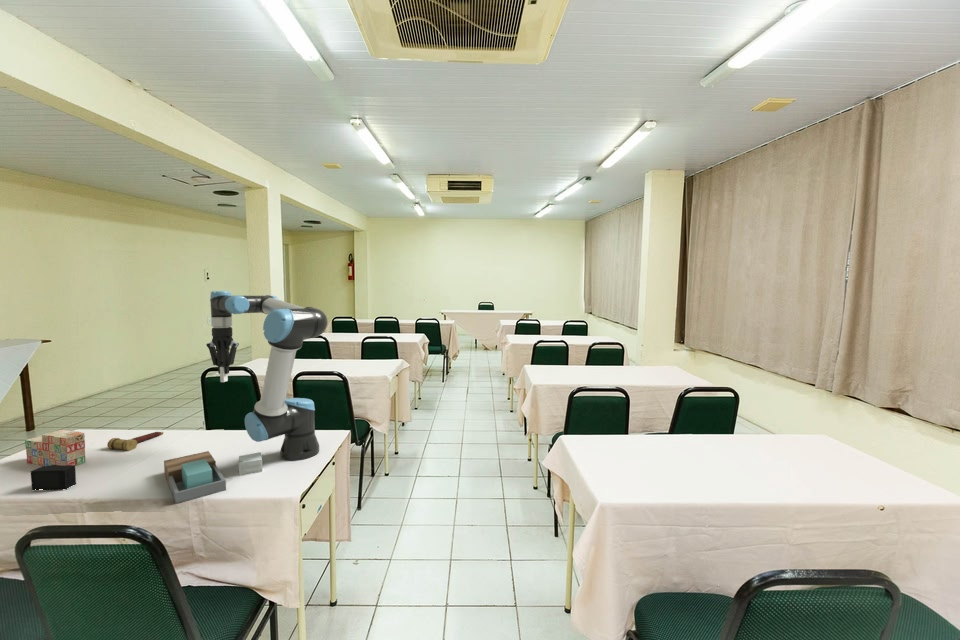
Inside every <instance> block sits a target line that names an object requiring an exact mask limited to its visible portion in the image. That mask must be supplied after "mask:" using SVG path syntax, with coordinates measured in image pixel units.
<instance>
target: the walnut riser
mask: <svg viewBox="0 0 960 640" xmlns="http://www.w3.org/2000/svg"><path fill="white" fill-rule="evenodd" d="M203 459H206V461H207V463H208V464H209V466H210V467H211V469H212V474H213V466H215V465H216V466H217V464H216V462H217V461H216V459H214V457H213V455H212V454H211V452H210V451H209V450H207V451H201V452H198V453H193V454H189V455H185V456H179V457H175V458H170V459H166V460H164V461H163V466H164V467H163V470H164V471H163V472H164V476H165V478H166V481H167V484H168V486H169V476H173V479H174V481H175V484H176V483H180V482H182V464H185V463H190V462H194V461H199V460H203Z"/></svg>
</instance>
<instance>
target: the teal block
mask: <svg viewBox="0 0 960 640" xmlns="http://www.w3.org/2000/svg"><path fill="white" fill-rule="evenodd" d="M212 482H213V480H212V469H211V467H210V466H209V464H208V463H207V461H206V459H203V460H199V461H194V462H190V463H185V464H182V484H183V487H184V489H185V490H186V489H189V488H193V487H197V486H201V485H205V484H209V483H212Z"/></svg>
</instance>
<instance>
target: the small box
mask: <svg viewBox="0 0 960 640" xmlns="http://www.w3.org/2000/svg"><path fill="white" fill-rule="evenodd" d="M262 472H263V457H262V452H256V453H255V452H254V453H250V454H243V455H239V456H238V476H240V475H241V476H245V475H251V473H252V474H256V473H262ZM241 476H240V477H241Z"/></svg>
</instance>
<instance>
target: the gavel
mask: <svg viewBox="0 0 960 640" xmlns="http://www.w3.org/2000/svg"><path fill="white" fill-rule="evenodd" d="M163 434H164V431H154V432H151V433H147V434H144V435H139V436H136V437H132V438H130V439H121V438H120V437H112V438H111V439H108V440H109V441H108V442H107V448H108V449H110V450H115V449H116V450H124V451H129V452H130V451H132V450H134V449H136V448H137V446H138V443H142V442H145V441H149V440H153V439H155V438H158V437H160V436H162V435H163Z"/></svg>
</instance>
